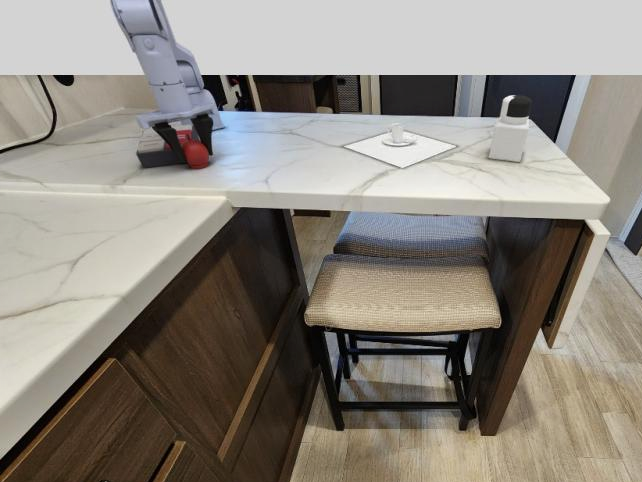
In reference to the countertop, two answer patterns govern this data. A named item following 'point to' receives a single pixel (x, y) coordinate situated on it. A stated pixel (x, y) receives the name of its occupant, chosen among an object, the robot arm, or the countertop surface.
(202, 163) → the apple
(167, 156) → the grey box
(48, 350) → the countertop surface
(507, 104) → the medicine bottle
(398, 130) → the teacup and saucer
